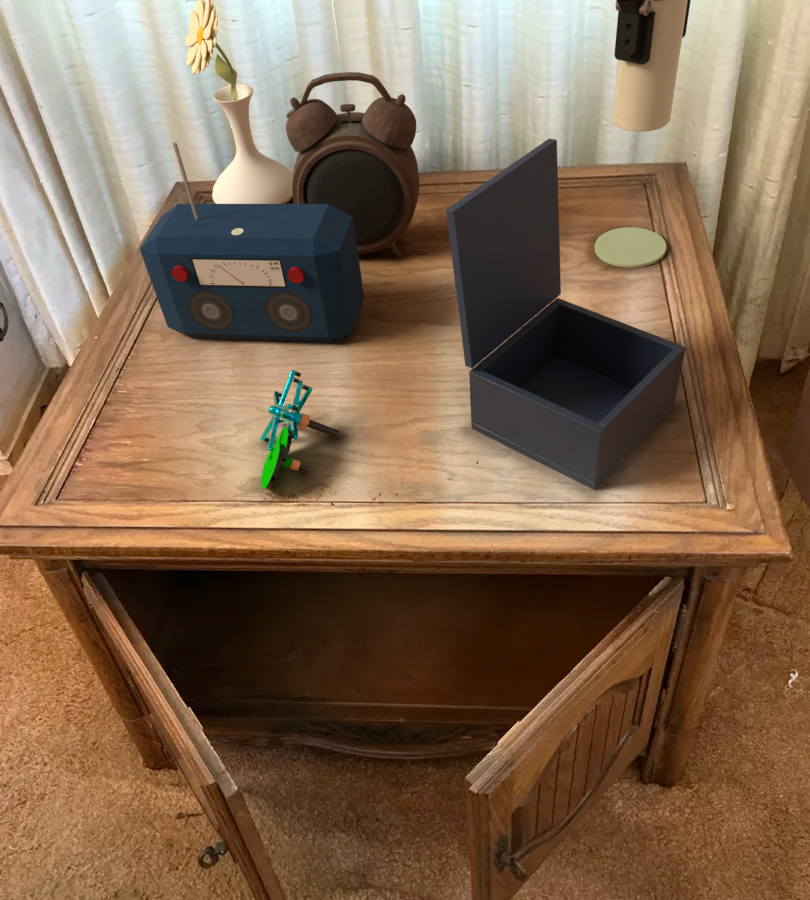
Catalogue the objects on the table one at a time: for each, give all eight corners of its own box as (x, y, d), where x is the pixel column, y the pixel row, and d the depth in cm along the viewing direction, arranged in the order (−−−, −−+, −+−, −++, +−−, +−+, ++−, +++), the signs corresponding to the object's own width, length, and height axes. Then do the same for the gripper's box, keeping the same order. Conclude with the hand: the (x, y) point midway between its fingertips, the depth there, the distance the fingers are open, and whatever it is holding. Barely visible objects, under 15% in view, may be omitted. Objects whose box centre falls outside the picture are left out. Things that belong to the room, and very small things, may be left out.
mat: (665, 230, 99) (665, 227, 99) (666, 268, 94) (667, 265, 94) (595, 229, 101) (596, 226, 100) (593, 267, 96) (593, 264, 95)
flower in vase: (217, 186, 116) (161, -23, 98) (299, 175, 116) (259, -36, 98) (213, 235, 108) (150, 17, 89) (301, 223, 108) (258, 2, 89)
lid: (557, 139, 70) (549, 138, 71) (453, 211, 64) (445, 209, 65) (561, 294, 81) (554, 292, 81) (472, 368, 74) (465, 366, 75)
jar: (671, 105, 82) (691, -33, 73) (673, 132, 78) (694, -9, 70) (610, 106, 83) (622, -30, 74) (609, 133, 79) (622, -6, 71)
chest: (674, 405, 80) (686, 346, 75) (594, 490, 74) (601, 432, 69) (554, 355, 86) (557, 297, 81) (471, 428, 80) (468, 371, 75)
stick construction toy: (264, 390, 83) (292, 352, 76) (329, 414, 86) (361, 380, 79) (239, 499, 78) (268, 469, 72) (309, 522, 81) (342, 494, 75)
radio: (167, 345, 93) (101, 167, 78) (192, 298, 99) (136, 124, 84) (351, 351, 90) (320, 166, 75) (367, 303, 95) (341, 121, 80)
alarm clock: (302, 271, 101) (266, 95, 86) (310, 238, 105) (277, 66, 90) (424, 265, 99) (409, 85, 84) (427, 232, 104) (413, 56, 89)
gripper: (668, -191, 57) (636, 93, 70) (783, -243, 64) (734, 22, 78) (573, -196, 60) (560, 75, 74) (693, -244, 68) (661, 10, 82)
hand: (650, 46), depth 76 cm, fingers closed on jar, 5 cm apart
